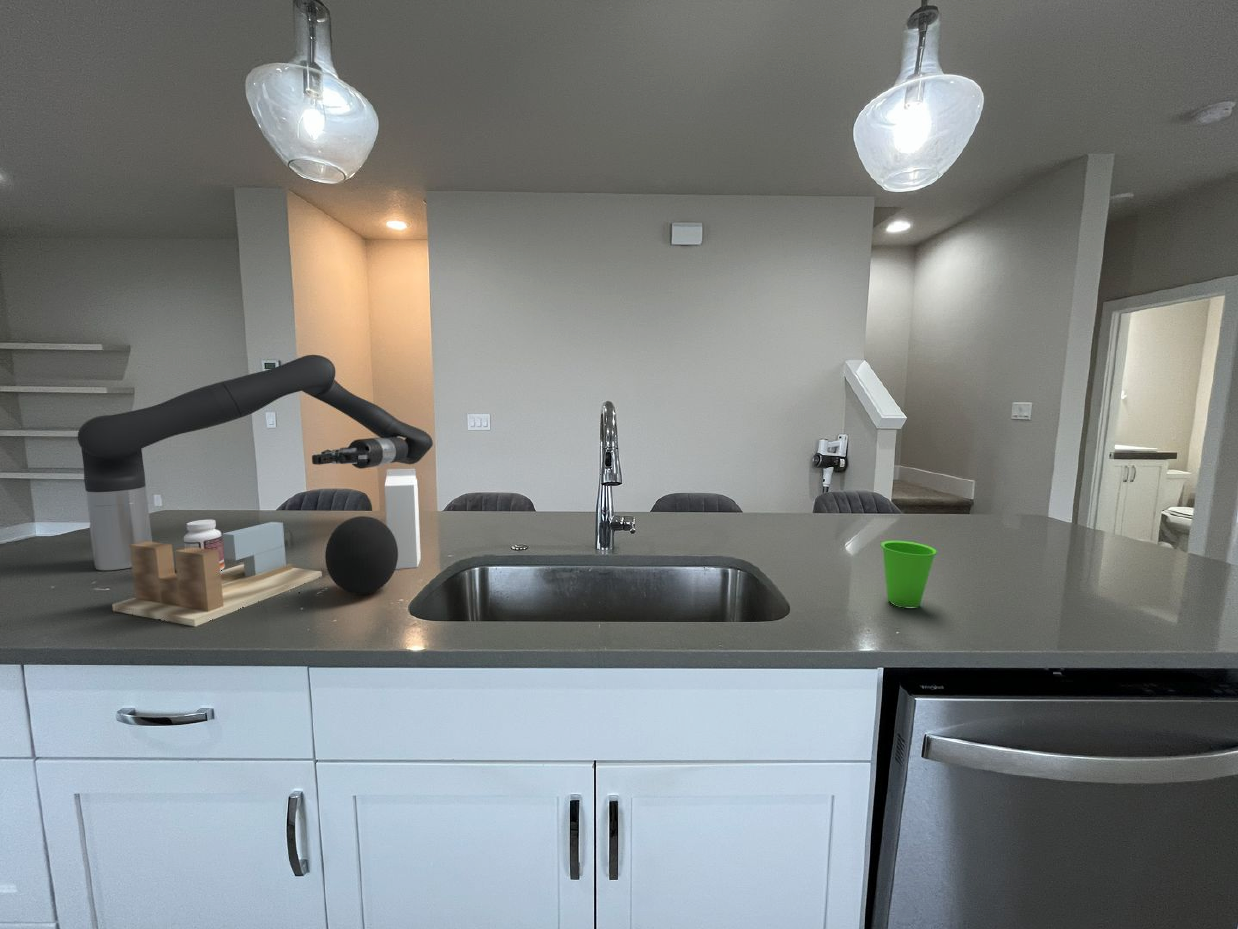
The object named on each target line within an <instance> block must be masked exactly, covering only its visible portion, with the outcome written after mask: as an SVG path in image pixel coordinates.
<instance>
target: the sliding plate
mask: <svg viewBox="0 0 1238 929" xmlns="http://www.w3.org/2000/svg"><path fill="white" fill-rule="evenodd" d="M221 536H222V544H223V554H224V560H229V561H230V560H231V561H239V560H242V559H243V564H244V572H245V577H247V578H248V577H251V576H254V575H257V574H260V573H263V572H266V571H269V570H272V569H275V568H278V567H281V566H284V565H287V560H286V547H285V535H284V523H283V522H276V521H270V522H266V523H262V524H258V525H257V524H256V525H253V526H249V527H245V528H241V529H236V530H233V531H232V530H231V531H229V532H223V533H221Z"/></svg>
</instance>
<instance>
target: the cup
mask: <svg viewBox="0 0 1238 929" xmlns="http://www.w3.org/2000/svg"><path fill="white" fill-rule="evenodd" d="M880 547H881V548H882V553H883V563H884V564H883V566H884V574H885V584H886V595H887V600H888V602H889V601H890V602H892V603H894V604H895V605H898V606H901V607H918V608H919V606H920V605H921V603H922V598H923V596H924V592H925V589H926V586H927V585H926V584H927V582H928V579H929V576H930V571H931V568H932V565H933V561H934V558H935V556H936V555H937V554H938V551H937V550H936V549H935V548H934V547H931V546H929V545H926V544H922V543H917V542H912V541H904V540H886V541H883V542H881V544H880Z"/></svg>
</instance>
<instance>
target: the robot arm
mask: <svg viewBox="0 0 1238 929" xmlns="http://www.w3.org/2000/svg"><path fill="white" fill-rule="evenodd" d="M335 378H336V368H335V364H334V362H332V361H331V360H330V359H329V358H327V357H325V356H324V355H323V356H322V355H319V354H309V355H304V356H301V357H298V358H296V359H293V360H291V361H289V362H286V363H283V364H281V365H278V366H275V367H273V368H269V369H266V370H261V371H258V372H254V373H249V374H246V375H243V376H242V375H241V376H239V377H236V378H232V379H227V380H222V381H219V382H216V383H212V384H208V385H205V386H202V387H199V388H196V389H193V390H191V391H190V390H189V391H187V392H185V393H182V394H179V395H177V396H175V397H173V398H170V399H168V400H166V401H163V402H161V403H159V404H155V405H152V406H148V407H145V408H140V409H136V410H135V409H134V410H131V411H130V410H129V411H126V412H121V413H115V414H111V415H109V414H107V415H106V414H105V415H98V416H96V417H93V418H90V419H88V420H86V421H85V422H84V423H83V424H81V426H80V428H79V430H78V432H77V442H78V444H79V447H80V448H81V456H82V464H83V465H82V466H83V482H84V489H85V495H86V502H87V503H86V505H87V511H88V519H89V532H90V540H91V548H92V556H93V563H94V567H95V570H98V571H116V570H123V569H130V568H132V562H131V554H130V546H129V545H131V544H136V543H140V542H145V541H148V542H153V538H152V528H151V522H150V521H151V520H150V510H149V504H148V495H147V487H146V477H145V476H146V475H145V474H146V473H145V467H144V458H143V449H144V448H147V447H149V446H151V445H153V444H156V443H158V442H160V441H163V440H166V439H168V438H171V437H174V436H175V437H176V436H177V435H181V434H187V433H191V432H195V431H200V430H204V429H208V428H212V427H216V426H218V425H222V424H226V423H229V422H232V421H235V420H238V419H242V418H244V417H246V416H248V415H251V414H253V413H255V412H258V411H259V410H261V409H263V408H265V407H267V406H268V405H270V404H272V403H274V401H275V402H276V401H277V400H278V399H281V398H283V397H286V396H288V395H292V394H295V393H297V392H303V393H305V394H306V395H307V396H311V397H312V398H314V399H317V400H318V401H320V402H323V403H325V404H327V405H328V406H330V407H331V408H332V407H333V408H334V409H335V410H338V411H340V412H342V414H345V415H346V416H347V417H349V418H351V419H352V420H354V421H356V422H357V423H358V424H360V425H361V426H363V427H364V428H366V429H367V430H368V431H370V432H371V433H373V434H374V435H376V436H377V437H370V438H369V437H368V438H358V439H354V440H353V441H351V442H350V444H349V446H347V447H346V446H343V447H340V448H337V449H335V448H334V449H332V450H330V449H325V450H323V451H321V452H320V454H319V453H318V454H313V455H311V461H312V464H313V465H326V464H327V465H328V464H333V465H339V464H340V465H348V464H351V465H352V466H353V467H355V468H357V469H361V470H362V469H363V470H364V469H368V468H373V467H374V468H375V467H380V466H381V467H382V466H384V465H388V464H393V463H399V464H405V465H414V464H417V463H418V462H420V461H421V460H422V459H423V457H424V456H425V455H426V454H427V453H428V452H429V451H430V450H431V449H432V448H433V444H434V442H433V438H432V437H431V435H430V434H429V433H427V432H426V431H425V430H423V429H420V428H418V427H415V426H413V425H410V424H408V423H406V422H403V421H401V420H399V419H398V418H396V417H395V416H394V415H392V414H391V413H389V412H388V411H386V410H385V409H384V408H382V407H380V406H378V405H377V404H375V403H373V402H371V401H369V400H366V399H363V398H361V397H359V396H358V395H355V394H354V393H352V392H350V390H348V389H346V388H345V387H344V386H342V384H340V383H339V382H338V381H337V380H335ZM403 438H404V439H403Z"/></svg>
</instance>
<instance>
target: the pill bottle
mask: <svg viewBox="0 0 1238 929" xmlns="http://www.w3.org/2000/svg"><path fill="white" fill-rule="evenodd" d="M216 523H217V522H216V520H215V519H200V520H193V521H190V522H187V523H186V529H187V531H188V532H187V533H186V534H185V535H184V536H183V544H184V548H188V547H194V548H202V549H210V550H218V553H219V564H220V571H221V570H225V566H226V565H225V559H224V548H223V537H222V532H221V531H220V530H219V529H216V526H217V524H216Z"/></svg>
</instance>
